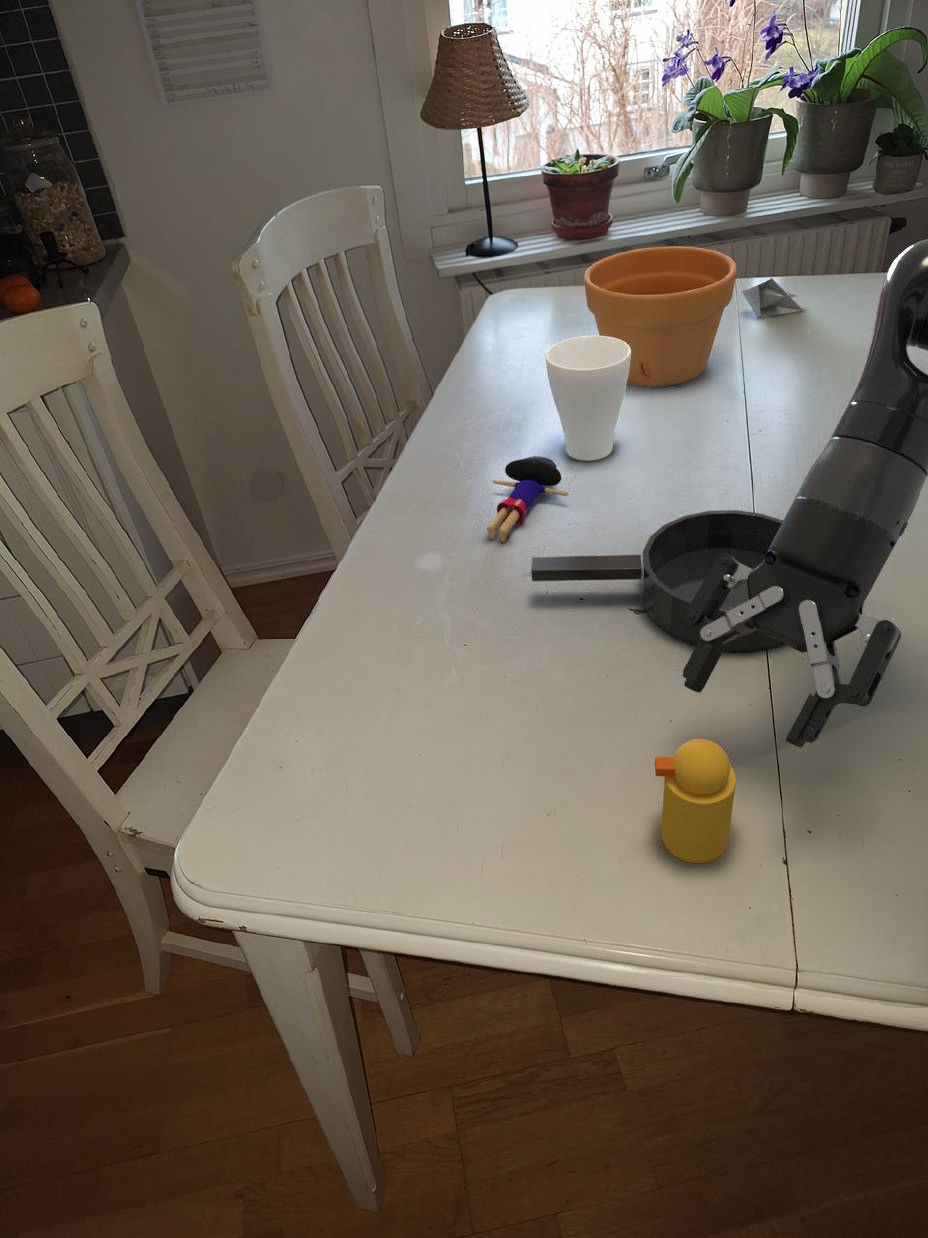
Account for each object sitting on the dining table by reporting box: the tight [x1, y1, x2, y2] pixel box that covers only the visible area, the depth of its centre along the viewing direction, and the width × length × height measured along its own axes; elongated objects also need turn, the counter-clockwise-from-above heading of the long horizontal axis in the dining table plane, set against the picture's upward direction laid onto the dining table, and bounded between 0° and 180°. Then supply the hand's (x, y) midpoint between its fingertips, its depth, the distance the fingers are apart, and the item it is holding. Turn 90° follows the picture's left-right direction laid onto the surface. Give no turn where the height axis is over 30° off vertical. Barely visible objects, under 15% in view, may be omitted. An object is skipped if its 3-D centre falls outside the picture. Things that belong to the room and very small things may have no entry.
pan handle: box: [530, 554, 642, 582], centre depth 90 cm, size 11×2×1 cm, turn 84°
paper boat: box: [741, 277, 803, 318], centre depth 144 cm, size 12×6×9 cm
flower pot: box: [583, 245, 737, 388], centre depth 130 cm, size 21×21×15 cm
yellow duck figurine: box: [654, 738, 737, 864], centre depth 65 cm, size 6×5×10 cm
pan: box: [641, 509, 786, 653], centre depth 89 cm, size 17×17×5 cm
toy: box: [486, 455, 570, 543], centre depth 106 cm, size 10×5×15 cm
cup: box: [544, 335, 631, 462], centre depth 113 cm, size 10×10×14 cm
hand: (741, 716), depth 65 cm, fingers open, 8 cm apart
